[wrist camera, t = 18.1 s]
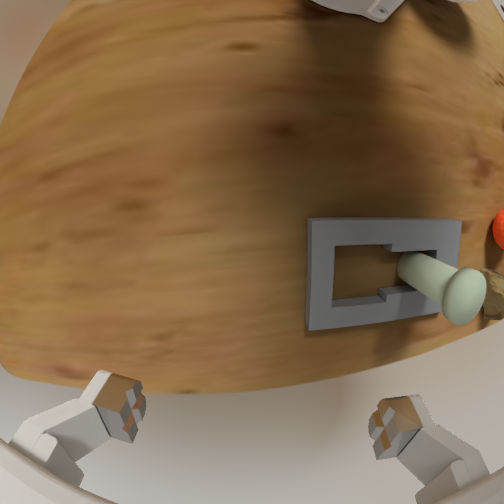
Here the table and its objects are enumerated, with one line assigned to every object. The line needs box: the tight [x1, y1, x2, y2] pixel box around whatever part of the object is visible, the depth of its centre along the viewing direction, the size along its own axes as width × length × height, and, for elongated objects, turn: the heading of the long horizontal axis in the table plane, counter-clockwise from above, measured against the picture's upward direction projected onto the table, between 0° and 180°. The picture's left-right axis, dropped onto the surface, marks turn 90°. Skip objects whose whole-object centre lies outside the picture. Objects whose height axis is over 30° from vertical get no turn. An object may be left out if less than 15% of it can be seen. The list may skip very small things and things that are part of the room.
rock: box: [481, 267, 504, 320], centre depth 32 cm, size 10×8×10 cm
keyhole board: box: [305, 217, 462, 331], centre depth 32 cm, size 22×13×2 cm, turn 92°
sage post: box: [397, 251, 486, 326], centre depth 27 cm, size 6×6×12 cm
